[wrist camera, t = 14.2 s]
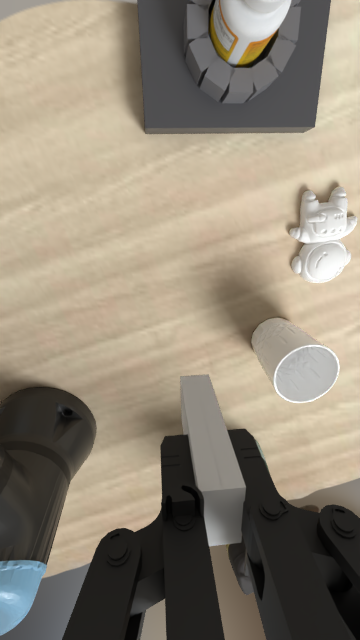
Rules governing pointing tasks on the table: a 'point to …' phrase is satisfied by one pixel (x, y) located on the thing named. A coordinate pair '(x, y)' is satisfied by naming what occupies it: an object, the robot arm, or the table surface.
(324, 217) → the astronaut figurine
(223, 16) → the supplement bottle
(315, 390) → the white cup
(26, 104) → the table surface
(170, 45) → the square plate with collar
